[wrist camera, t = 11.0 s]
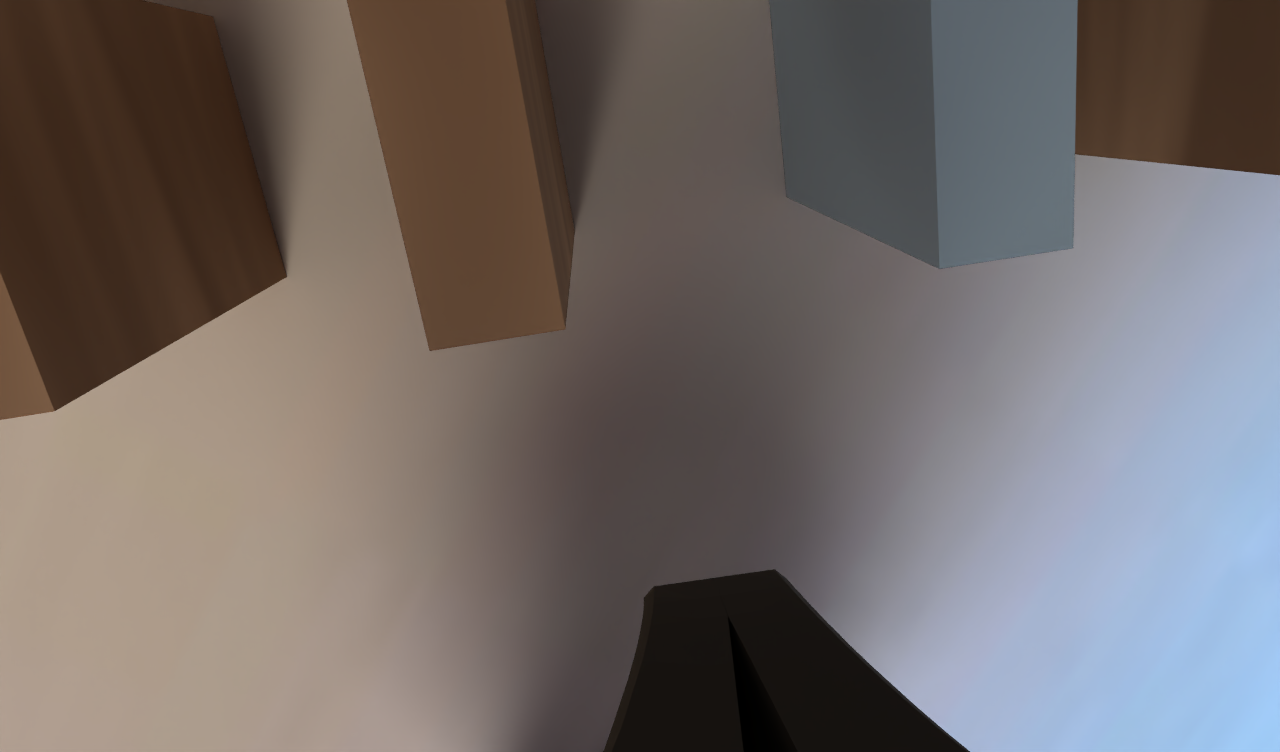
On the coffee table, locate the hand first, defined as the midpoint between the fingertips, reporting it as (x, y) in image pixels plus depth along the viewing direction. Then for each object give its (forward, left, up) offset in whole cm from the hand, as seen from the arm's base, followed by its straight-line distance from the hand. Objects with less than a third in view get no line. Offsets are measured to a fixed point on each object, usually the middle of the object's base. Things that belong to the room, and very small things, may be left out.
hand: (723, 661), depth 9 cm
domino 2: (+6, +2, -10) cm, 12 cm away
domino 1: (+6, +8, -10) cm, 14 cm away
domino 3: (+6, -4, -10) cm, 13 cm away
